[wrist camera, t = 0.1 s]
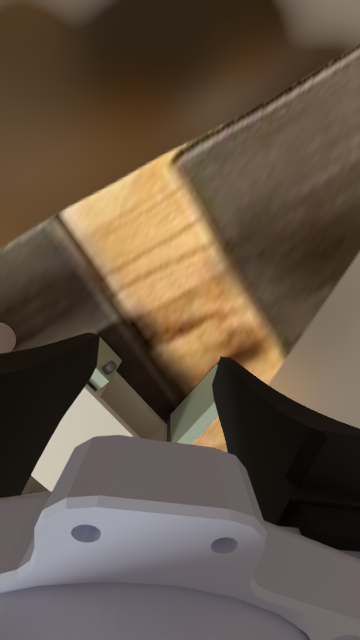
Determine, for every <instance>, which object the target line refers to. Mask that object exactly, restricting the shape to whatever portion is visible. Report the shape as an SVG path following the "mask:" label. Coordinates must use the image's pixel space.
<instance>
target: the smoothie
mask: <svg viewBox="0 0 360 640" xmlns="http://www.w3.org/2000/svg"><path fill="white" fill-rule="evenodd" d="M15 345H16V336H15V333H14V332H13V330H12V329H11V328H10V327H9V326H8V325H6V324H4V323H1V322H0V354H1V353H9V352H11V351H12V350H13V349H14V347H15Z"/></svg>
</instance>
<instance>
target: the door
mask: <svg viewBox="0 0 360 640" xmlns="http://www.w3.org/2000/svg"><path fill="white" fill-rule="evenodd" d="M217 367H218V364H216V365H215V366H214V367H213V368H212V370H211V371H210V372H209V373H208V374H207V375H206V376H205V377H204V378H203V379H202V380H201V382H200V383H199V384H198V385H197V386H196V387H195V388H194V389H193V390H192V391H191V392H190V394H189V395H188V396H187V397H186V398H185V399H184V400H183V401H182V402H181V403H180V405H179V406H178V407H177V408H176V409H175V410H174V411H173V412H172V413H171V414H170V417H169V418H168V419H167V442H175V443H182V444H190V445H191V444H192V443H193V442H194V441H195V440H196V439H197V438H198V437H199V436H200V435H201V434H202V433H203V431H204V430H205V429H206V428H207V427H208V426H209V425H210V424H211V423H212V422H213V421H214V420H215V419H216V418H217V417H218V412H217V409H216V405H215V402H214V397H213V390H212V383H213V380H214V377H215V373H216V370H217Z"/></svg>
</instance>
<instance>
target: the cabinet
mask: <svg viewBox="0 0 360 640" xmlns="http://www.w3.org/2000/svg"><path fill="white" fill-rule="evenodd" d="M95 334H97V333H95ZM121 362H122V360H121V359H120V358H119V357H118V356H117V355H116V353H115V352H114V351H113V350H112V349H111V348H110V347H109V346H108V345H107V344H106V343H105V342H104V340H103V339H102V338H101V337H100V339H99V350H98V360H97V367H96V369H95V371H94V373H93V374H92V376H91V378H90V380H89V381H88V383H87V384H86V386H85V387H84V389H83V390H82V391H81V393H80V394H79V396H78V397H77V398H76V400H75V401H74V402H73V404H72V405H71V407H70V408H69V409H68V411H67V412H66V414H65V415H64V417H63V418H62V420H61V421H60V423H59V425H58V427H57V428H56V430H55V432H54V433H53V435H52V437H51V439H50V440H49V442H48V444H47V446H46V448H45V450H44V451H43V453H42V455H41V457H40V459H39V460H38V462H37V464H36V466H35V468H34V470H33V472H32V474H31V476H33V477H34V478H35V479H36V480H37V481H38V482H40V483H41V484H42V485H43V486H44V487H46V488H47V489H48V490H49V491H53V489H54V487H55V485H56V483H57V481H58V479H59V477H60V475H61V473H62V471H63V469H64V468H65V466H66V464H67V462H68V460H69V458H70V456H71V454H72V452H73V450H74V448H75V447H77V446H78V445H80V444H82V443H84V442H85V441H87V440H89V439H91V438H93V437H96V436H109V435H123V436H130V437H138V438H145V439H153V440H160V441H167V425H166V423H165V422H164V421H163V420H162V419H161V418H160V417H159V416H158V415H157V414H156V413H155V412H154V411H153V410H152V409H151V408H150V406H149V405H148V404H147V403H146V402H145V401H144V400H143V399H142V398H141V397H140V396H139V395H138V394H137V393H136V392H135V391H134V389H133V388H132V387H131V386H130V385H129V384H128V383H127V382H126V381H125V380H124V379H123V378H122V377H121V376H120V375H119V374H118V372H117V371H116V370H117V368H118V366H119V365H120V363H121Z"/></svg>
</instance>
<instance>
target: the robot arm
mask: <svg viewBox="0 0 360 640" xmlns="http://www.w3.org/2000/svg"><path fill="white" fill-rule="evenodd" d="M99 339H100V335H99V334H94V333H85V334H81V335H78V336H75V337H71V338H68V339H65V340H62V341H58V342H55V343H51V344H47V345H44V346H40V347H36V348H31V349H26V350H21V351H16V352H9V353H1V354H0V640H360V429H359V428H356V427H353V426H350V425H348V424H345V423H342V422H339V421H337V420H334V419H332V418H329V417H327V416H325V415H322V414H320V413H318V412H316V411H313V410H311V409H309V408H307V407H305V406H303V405H301V404H299V403H297V402H295V401H293V400H292V399H290V398H288V397H286V396H285V395H283V394H281V393H279V392H278V391H276V390H274V389H273V388H271V387H270V386H268V385H267V384H265V383H264V382H263V381H261V380H260V379H258V378H257V377H256V376H254V375H253V374H252V373H250V372H249V371H248V370H246V369H245V368H244V367H242V366H241V365H240V364H238V363H237V362H236V361H234V360H233V359H231V358H226V357H220V360H219V364H218V367H217V370H216V373H215V377H214V380H213V383H212V390H213V397H214V402H215V405H216V409H217V412H218V416H219V419H220V423H221V426H222V429H223V433H224V436H225V440H226V445H227V450H228V453H227V452H224V451H222V450H219V449H216V448H212V447H204V446H197V445H190V444H182V443H175V442H167V441H160V440H153V439H145V438H138V437H130V436H123V435H109V436H96V437H93V438H91V439H89V440H87V441H85V442H84V443H82V444H80V445H78V446H77V447H75V448H74V450H73V452H72V454H71V456H70V458H69V460H68V462H67V464H66V466H65V468H64V469H63V471H62V473H61V475H60V477H59V479H58V481H57V483H56V485H55V487H54V489H53V491H50V492H43V493H35V494H27V495H21V493H22V491H23V489H24V487H25V485H26V483H27V481H28V480H29V478H30V476H31V474H32V472H33V470H34V468H35V466H36V464H37V462H38V460H39V459H40V457H41V455H42V453H43V451H44V450H45V448H46V446H47V444H48V442H49V440H50V439H51V437H52V435H53V433H54V432H55V430H56V428H57V427H58V425H59V423H60V421H61V420H62V418H63V417H64V415H65V414H66V412H67V411H68V409H69V408H70V407H71V405H72V404H73V402H74V401H75V400H76V398H77V397H78V396H79V394H80V393H81V391H82V390H83V389H84V387H85V386H86V384H87V383H88V381H89V380H90V378H91V376H92V374H93V373H94V371H95V369H96V367H97V360H98V350H99Z"/></svg>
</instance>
